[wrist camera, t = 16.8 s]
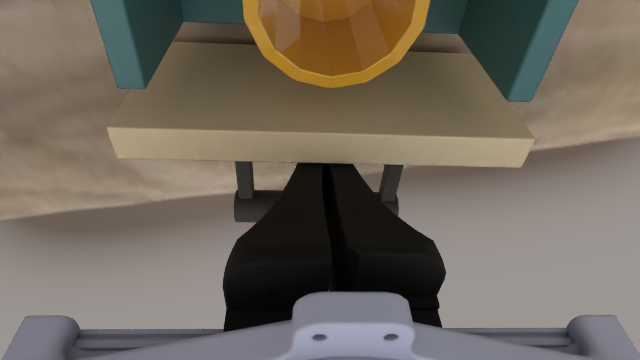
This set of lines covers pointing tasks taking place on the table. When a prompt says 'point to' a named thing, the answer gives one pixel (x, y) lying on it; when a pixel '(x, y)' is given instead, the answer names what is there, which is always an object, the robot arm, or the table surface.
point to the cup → (334, 36)
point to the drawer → (326, 94)
